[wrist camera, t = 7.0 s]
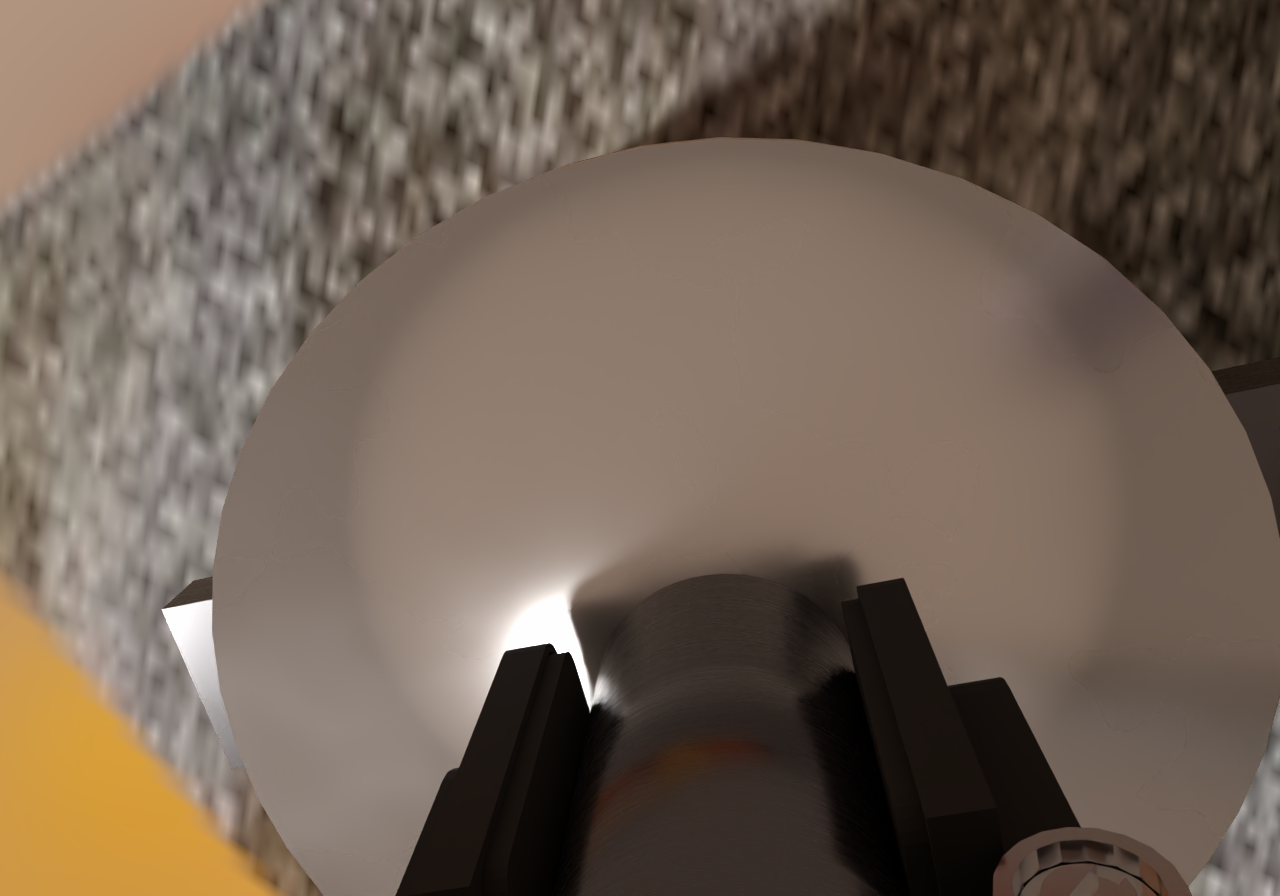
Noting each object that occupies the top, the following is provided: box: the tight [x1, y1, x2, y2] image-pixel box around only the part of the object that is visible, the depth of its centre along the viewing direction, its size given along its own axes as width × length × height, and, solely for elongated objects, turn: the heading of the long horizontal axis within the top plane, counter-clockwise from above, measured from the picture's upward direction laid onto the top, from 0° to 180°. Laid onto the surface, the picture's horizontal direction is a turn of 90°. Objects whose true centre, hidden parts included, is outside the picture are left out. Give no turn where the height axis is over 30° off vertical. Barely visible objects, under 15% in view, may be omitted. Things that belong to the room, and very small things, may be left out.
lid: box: [212, 137, 1280, 896], centre depth 10 cm, size 13×13×8 cm
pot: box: [162, 358, 1280, 769], centre depth 18 cm, size 17×12×9 cm
